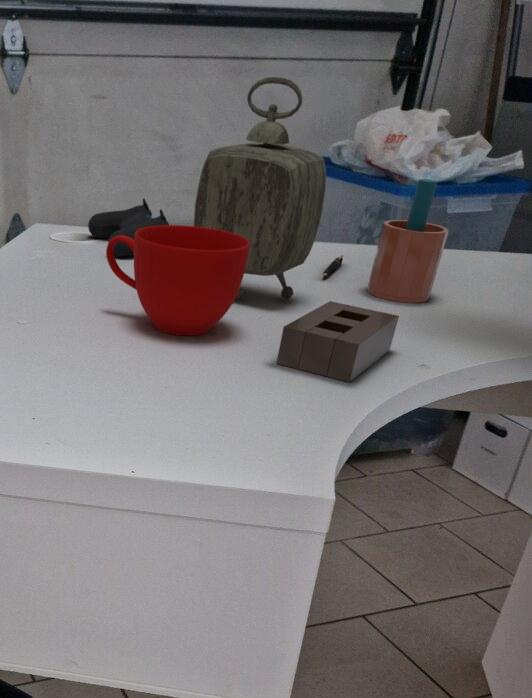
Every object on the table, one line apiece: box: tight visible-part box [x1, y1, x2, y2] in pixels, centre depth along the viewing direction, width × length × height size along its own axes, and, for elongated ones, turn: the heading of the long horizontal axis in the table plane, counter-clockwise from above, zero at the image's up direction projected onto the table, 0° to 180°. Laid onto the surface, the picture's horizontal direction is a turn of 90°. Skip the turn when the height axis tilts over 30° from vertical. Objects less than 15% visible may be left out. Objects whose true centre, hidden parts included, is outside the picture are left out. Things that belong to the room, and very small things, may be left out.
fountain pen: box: [322, 254, 344, 278], centre depth 126 cm, size 14×1×2 cm, turn 155°
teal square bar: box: [406, 178, 438, 232], centre depth 113 cm, size 2×2×14 cm
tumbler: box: [367, 219, 450, 304], centre depth 115 cm, size 8×8×9 cm
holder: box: [276, 300, 400, 383], centre depth 91 cm, size 8×14×4 cm, turn 146°
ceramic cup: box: [105, 224, 250, 336], centre depth 96 cm, size 13×17×10 cm
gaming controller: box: [87, 198, 170, 258], centre depth 131 cm, size 17×6×10 cm
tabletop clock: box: [193, 76, 327, 300], centre depth 105 cm, size 14×9×25 cm, turn 56°
